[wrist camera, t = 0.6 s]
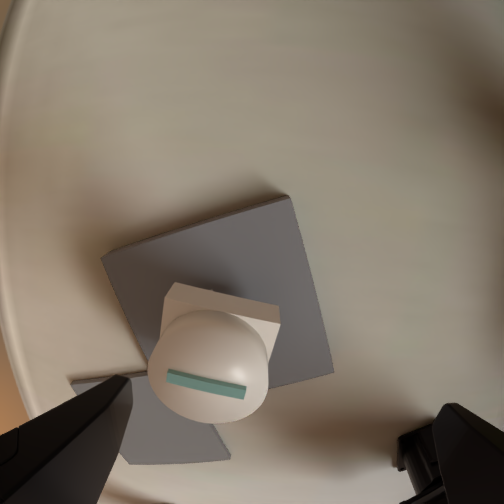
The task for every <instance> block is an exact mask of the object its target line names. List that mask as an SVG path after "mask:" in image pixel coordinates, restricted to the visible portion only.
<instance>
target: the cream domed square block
mask: <svg viewBox="0 0 504 504" xmlns="http://www.w3.org/2000/svg"><path fill="white" fill-rule="evenodd" d="M280 325H281V322H280V313H279V306H277V305H272V304H268V303H263V302H259V301H254V300H249V299H245V298H240V297H236V296H232V295H227V294H223V293H219V292H214V291H210V290H206V289H202V288H197V287H193V286H189V285H185V284H181V283H177V282H174V284H173V285H172V287H171V288H170V290H169V291H168V293H167V294H166V296H165V298H164V306H163V314H162V322H161V331H160V339H159V341H158V343H157V345H156V346H155V348H154V350H153V352H152V354H151V356H150V359H149V362H148V379H149V382H150V385H151V387H152V389H153V391H154V393H155V394H156V396H157V397H158V398H159V399H160V400H161V402H162V403H164V404H165V405H166V406H167V407H168V408H169V409H171V410H172V411H174V412H175V413H177V414H179V415H181V416H183V417H185V418H188V419H190V420H194V421H197V422H202V423H210V424H222V423H229V422H234V421H237V420H240V419H243V418H245V417H247V416H248V415H250V414H252V413H253V412H254V411H255V410H257V409H258V408H259V406H260V405H261V404H262V402H263V401H264V399H265V397H266V395H267V391H268V362H269V359H270V356H271V353H272V350H273V347H274V344H275V341H276V337H277V334H278V331H279V328H280Z"/></svg>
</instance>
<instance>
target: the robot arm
mask: <svg viewBox="0 0 504 504" xmlns="http://www.w3.org/2000/svg"><path fill="white" fill-rule="evenodd" d="M132 408H133V391H132V381H131V379H130V378H129V377H125V376H121V375H114V376H112V377H110V378H108V379H107V380H105V381H103V382H101V383H99V384H98V385H96V386H94V387H92V388H90V389H89V390H87V391H85V392H83V393H81V394H79V395H77V396H76V397H74V398H72V399H70V400H68V401H66V402H64V403H63V404H61V405H59V406H57V407H55V408H53V409H51V410H49V411H47V412H46V413H44V414H42V415H40V416H38V417H36V418H34V419H32V420H30V421H28V422H26V423H24V424H22V425H20V426H19V428H14V429H12V430H11V431H8V432H7V433H4V434H2V435H0V504H97V501H98V499H99V497H100V494H101V492H102V490H103V488H104V485H105V483H106V481H107V478H108V476H109V474H110V471H111V469H112V467H113V465H114V462H115V460H116V458H117V455H118V453H119V450H120V447H121V444H122V440H123V437H124V434H125V430H126V427H127V424H128V421H129V417H130V414H131V411H132ZM397 469H398V471H399V472H401V471H404V470H407V472H408V474H409V477H410V480H411V482H412V485H413V488H414V490H415V493H416V496H414V497H412V498H410V499H408V500H406V501H403V502H401V503H399V504H504V432H503V431H501V430H499V429H498V428H496V427H495V426H493V425H491V424H490V423H488V422H487V421H485V420H483V419H482V418H480V417H479V416H477V415H475V414H474V413H472V412H471V411H469V410H467V409H466V408H464V407H463V406H461V405H459V404H458V403H447V404H445V405H443V407H442V408H441V410H440V412H439V414H438V415H437V417H436V419H435V420H434V422H433V424H430V425H428V426H426V427H423V428H421V429H418V430H416V431H413V432H411V433H408V434H405V435H403V436H401V437H399V438H398V449H397Z"/></svg>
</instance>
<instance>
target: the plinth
mask: <svg viewBox="0 0 504 504" xmlns="http://www.w3.org/2000/svg"><path fill="white" fill-rule="evenodd" d="M101 260H102V263H103V265H104V268H105V270H106V272H107V275H108V277H109V280H110V282H111V284H112V287H113V289H114V291H115V294H116V296H117V298H118V300H119V303H120V305H121V307H122V309H123V311H124V314H125V316H126V318H127V320H128V322H129V324H130V326H131V328H132V330H133V332H134V334H135V336H136V338H137V341H138V342H139V344H140V346H141V348H142V350H143V352H144V354H145V356H146V358H147V360H148V362H149V359H150V356H151V354H152V352H153V350H154V348H155V346H156V345H157V343H158V341H159V339H160V331H161V322H162V314H163V306H164V298H165V296H166V294H167V293H168V291H169V290H170V288H171V287H172V285H173V284H174V282H177V283H181V284H185V285H189V286H193V287H197V288H202V289H206V290H210V291H214V292H219V293H223V294H227V295H232V296H236V297H240V298H245V299H249V300H254V301H259V302H263V303H268V304H272V305H277V306H279V313H280V322H281V325H280V328H279V331H278V334H277V337H276V341H275V344H274V347H273V350H272V353H271V356H270V359H269V362H268V389H271V388H275V387H279V386H284V385H288V384H292V383H296V382H300V381H304V380H308V379H312V378H316V377H319V376H323V375H327V374H330V373H334V368H333V363H332V359H331V354H330V350H329V345H328V341H327V337H326V332H325V328H324V324H323V320H322V315H321V311H320V307H319V303H318V299H317V295H316V291H315V287H314V283H313V279H312V275H311V271H310V267H309V263H308V260H307V256H306V252H305V248H304V244H303V241H302V237H301V233H300V230H299V226H298V222H297V219H296V215H295V212H294V208H293V205H292V201H291V198H290V197H289V195H287V196H283V197H280V198H277V199H273V200H270V201H266V202H263V203H259V204H256V205H253V206H249V207H246V208H243V209H239V210H236V211H233V212H229V213H226V214H223V215H220V216H216V217H213V218H210V219H207V220H203V221H200V222H197V223H194V224H191V225H188V226H185V227H181V228H178V229H175V230H172V231H169V232H166V233H163V234H160V235H157V236H154V237H151V238H148V239H145V240H142V241H139V242H136V243H133V244H130V245H127V246H124V247H121V248H119V249H116V250H113V251H110V252H109V253H107V254H106V255H104V256H103V257H101Z"/></svg>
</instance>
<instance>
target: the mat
mask: <svg viewBox="0 0 504 504" xmlns="http://www.w3.org/2000/svg"><path fill="white" fill-rule="evenodd" d="M121 376H125V377H129V378H130V379H131V381H132V391H133V408H132V411H131V414H130V417H129V421H128V424H127V427H126V430H125V434H124V437H123V440H122V444H121V447H120V450H119V453H120V454H121V455H122V456H123V458H124V459H125V460H126V461H127V462H128V463H129V464H136V465H154V464H184V463H199V462H211V461H221V460H230V457H231V454H230V453H229V451H228V449H227V448H226V446H225V444H224V443H223V441H222V439H221V438H220V436H219V434H218V432H217V431H216V429H215V427H214V425H213V424H210V423H202V422H197V421H194V420H190V419H188V418H185V417H183V416H181V415H179V414H177V413H175V412H174V411H172V410H171V409H169V408H168V407H167V406H166V405H165V404H164V403H162V402H161V400H160V399H159V398H158V397H157V396H156V394H155V393H154V391H153V389H152V387H151V385H150V382H149V379H148V371H147V372H140V373H133V374H126V375H121ZM108 378H110V377H104V378H96V379H87V380H78V381H73V382H72V383H71V387H72V388H73V390H74V391H75V393H76V394H77V395H79V394H81V393H83V392H85V391H87V390H89V389H90V388H92V387H94V386H96V385H98V384H99V383H101V382H103V381H105V380H107V379H108Z"/></svg>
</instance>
